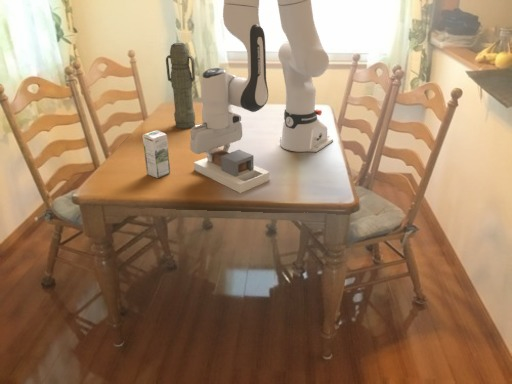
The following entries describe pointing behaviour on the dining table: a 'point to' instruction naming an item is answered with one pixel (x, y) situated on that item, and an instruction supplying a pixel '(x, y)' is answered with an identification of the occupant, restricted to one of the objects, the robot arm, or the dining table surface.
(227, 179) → the board
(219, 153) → the bar
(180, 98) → the thermos
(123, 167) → the dining table surface
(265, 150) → the dining table surface
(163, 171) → the syrup box
